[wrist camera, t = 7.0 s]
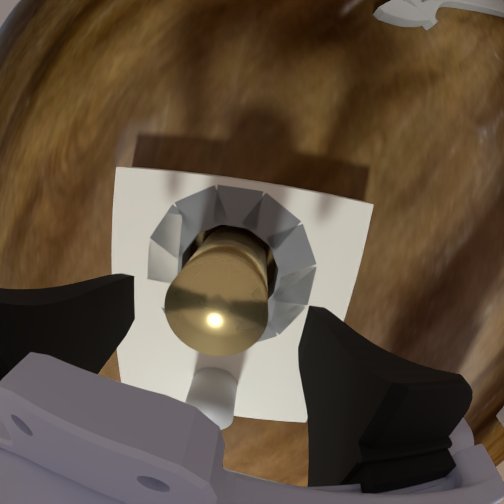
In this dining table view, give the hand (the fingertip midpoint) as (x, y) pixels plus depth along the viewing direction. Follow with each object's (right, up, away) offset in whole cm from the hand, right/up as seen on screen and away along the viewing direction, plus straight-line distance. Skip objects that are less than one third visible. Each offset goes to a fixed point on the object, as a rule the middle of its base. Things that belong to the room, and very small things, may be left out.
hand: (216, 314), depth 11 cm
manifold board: (0, -1, +7) cm, 7 cm away
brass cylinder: (0, +2, +6) cm, 7 cm away
